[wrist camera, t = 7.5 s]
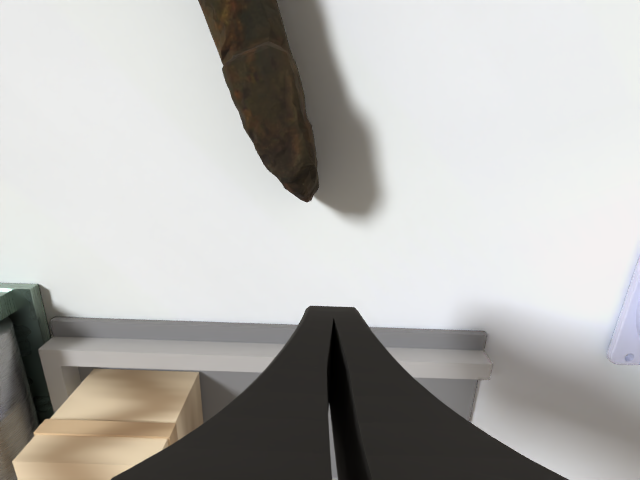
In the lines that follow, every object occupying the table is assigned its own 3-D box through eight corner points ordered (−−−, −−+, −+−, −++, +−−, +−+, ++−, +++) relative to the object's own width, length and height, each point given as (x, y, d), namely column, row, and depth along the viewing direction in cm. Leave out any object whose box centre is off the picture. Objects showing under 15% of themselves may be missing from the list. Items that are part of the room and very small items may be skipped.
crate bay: (484, 331, 21) (496, 348, 20) (450, 497, 25) (458, 522, 24) (54, 316, 21) (33, 333, 20) (93, 486, 25) (78, 510, 24)
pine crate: (200, 370, 22) (156, 464, 16) (208, 464, 24) (173, 575, 18) (92, 367, 21) (9, 459, 16) (110, 461, 24) (44, 571, 18)
